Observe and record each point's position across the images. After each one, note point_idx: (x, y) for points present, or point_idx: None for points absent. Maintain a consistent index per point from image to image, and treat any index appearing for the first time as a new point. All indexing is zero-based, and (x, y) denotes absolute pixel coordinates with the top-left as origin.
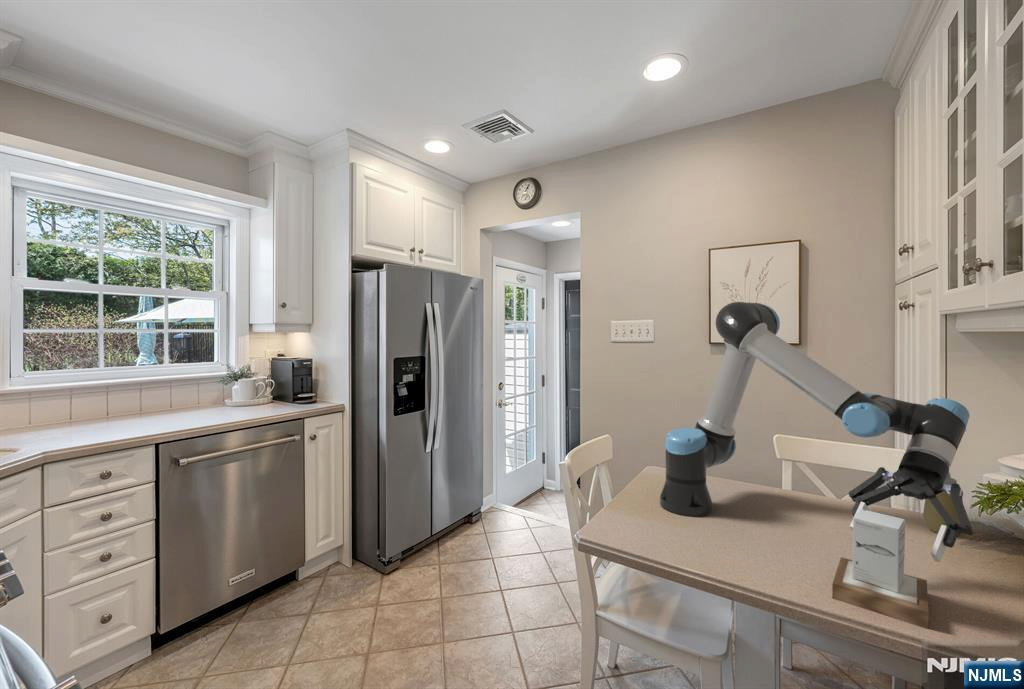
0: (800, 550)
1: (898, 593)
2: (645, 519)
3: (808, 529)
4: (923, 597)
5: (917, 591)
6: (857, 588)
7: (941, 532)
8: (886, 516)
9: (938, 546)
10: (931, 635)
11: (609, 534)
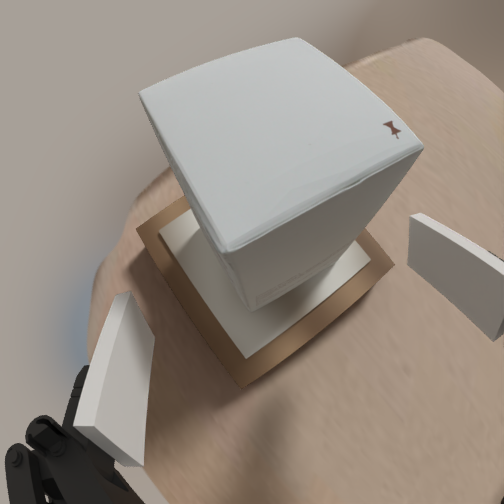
0: None
1: (200, 229)
2: (499, 109)
3: None
4: (176, 282)
5: (200, 296)
6: None
7: (93, 382)
8: (287, 154)
9: (105, 321)
10: None
11: (444, 54)
